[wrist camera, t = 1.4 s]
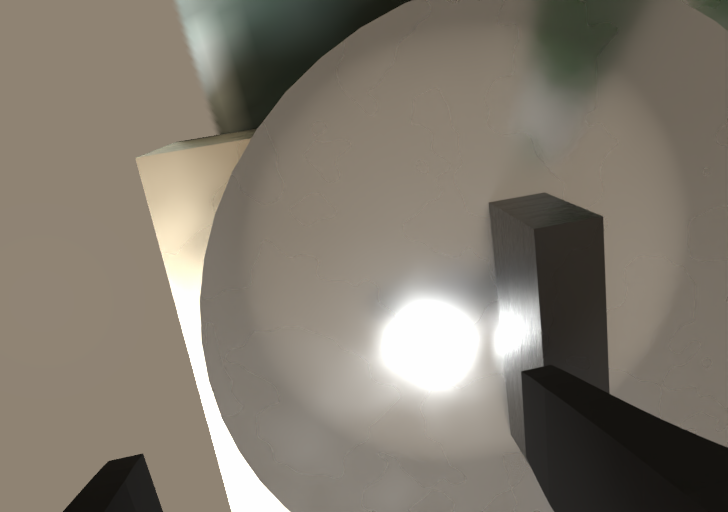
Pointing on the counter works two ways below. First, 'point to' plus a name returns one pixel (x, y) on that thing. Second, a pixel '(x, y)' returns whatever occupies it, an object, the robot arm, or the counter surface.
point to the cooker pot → (187, 251)
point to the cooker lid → (471, 248)
